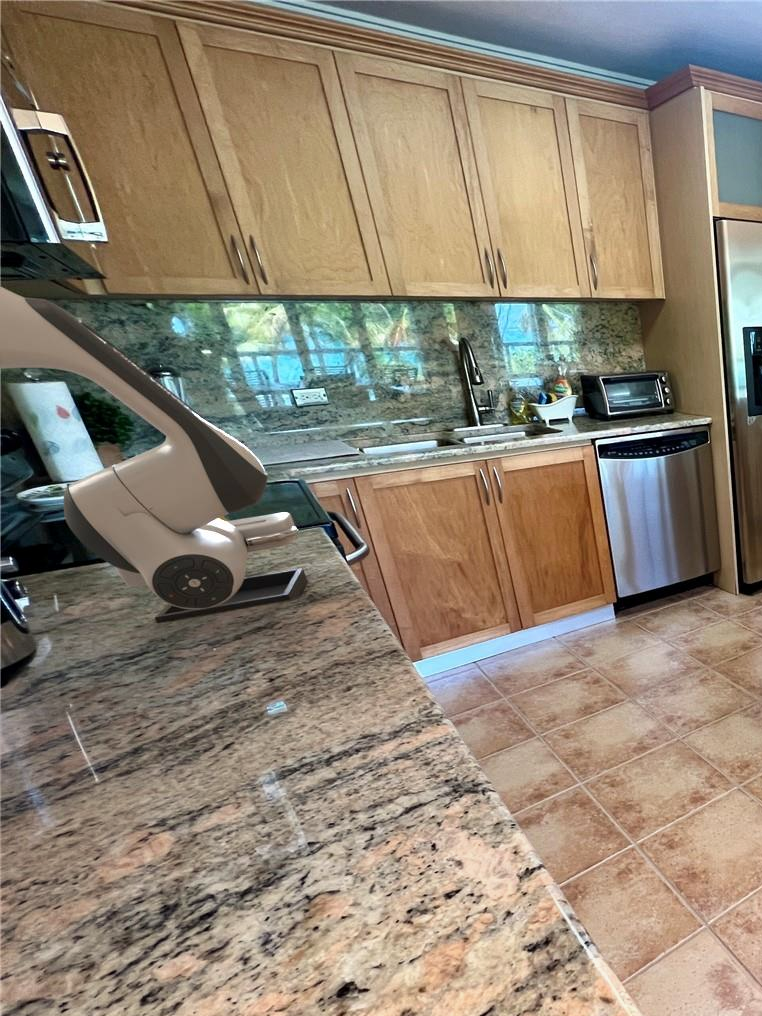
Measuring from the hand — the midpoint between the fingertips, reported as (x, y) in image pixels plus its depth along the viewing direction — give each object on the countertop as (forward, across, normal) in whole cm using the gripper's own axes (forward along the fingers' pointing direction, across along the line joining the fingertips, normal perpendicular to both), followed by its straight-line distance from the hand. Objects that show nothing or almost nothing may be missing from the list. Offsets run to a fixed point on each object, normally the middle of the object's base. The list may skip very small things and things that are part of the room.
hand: (211, 529), depth 96 cm
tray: (-1, 0, +12) cm, 12 cm away
